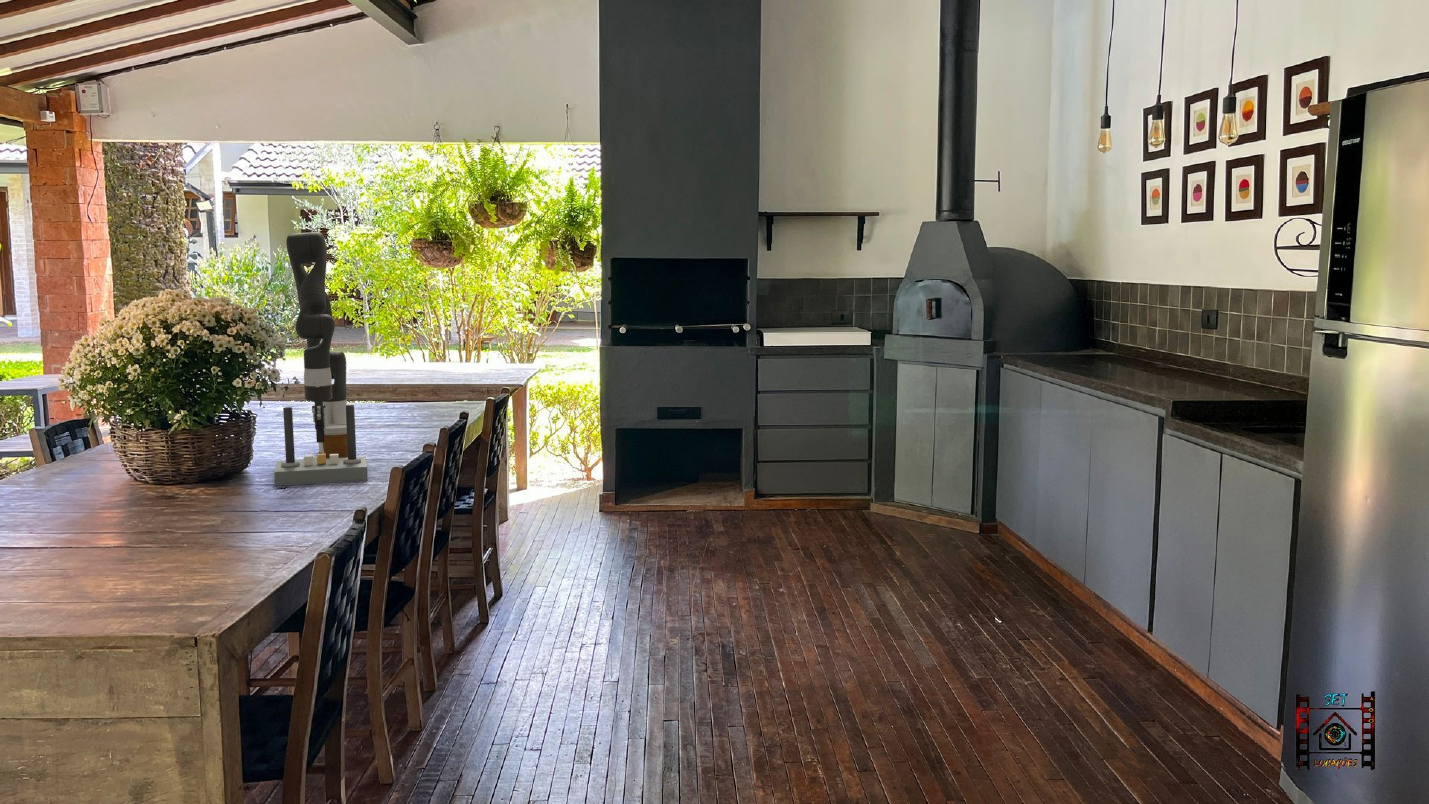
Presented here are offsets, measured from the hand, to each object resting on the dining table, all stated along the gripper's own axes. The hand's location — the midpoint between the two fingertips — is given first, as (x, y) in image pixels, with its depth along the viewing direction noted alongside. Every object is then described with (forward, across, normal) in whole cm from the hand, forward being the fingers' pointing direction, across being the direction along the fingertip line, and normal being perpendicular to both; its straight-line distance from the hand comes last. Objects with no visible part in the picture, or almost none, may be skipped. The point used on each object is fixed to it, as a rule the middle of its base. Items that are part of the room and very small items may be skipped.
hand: (320, 442), depth 315 cm
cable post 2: (+6, 0, +8) cm, 11 cm away
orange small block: (+6, 0, 0) cm, 6 cm away
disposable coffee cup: (+11, -19, +4) cm, 22 cm away
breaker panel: (+10, 0, 0) cm, 10 cm away
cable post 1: (+6, 0, -8) cm, 11 cm away
